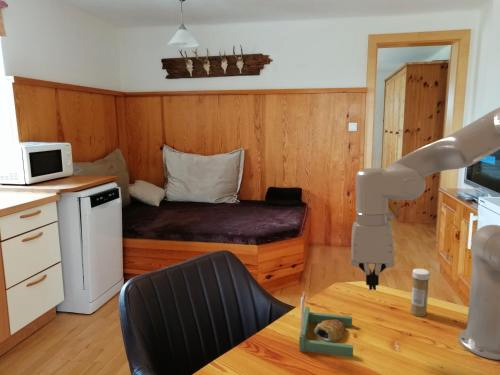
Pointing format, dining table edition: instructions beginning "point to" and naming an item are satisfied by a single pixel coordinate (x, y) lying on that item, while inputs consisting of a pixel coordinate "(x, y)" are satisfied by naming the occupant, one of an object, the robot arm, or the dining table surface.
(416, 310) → the sprinkles bottle
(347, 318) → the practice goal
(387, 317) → the dining table surface
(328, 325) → the pastry
